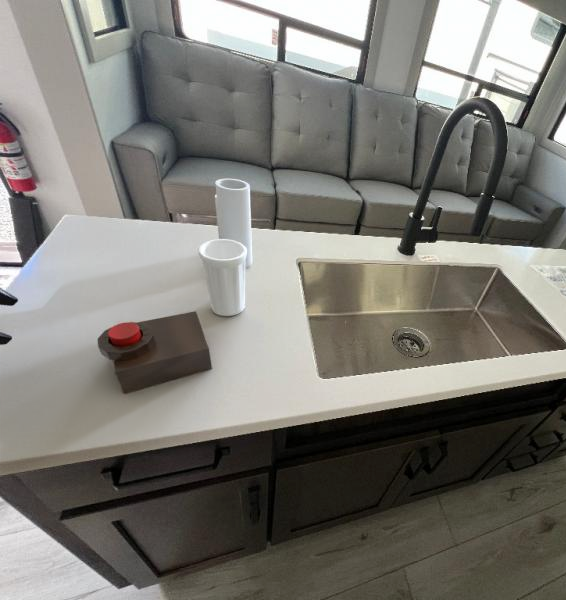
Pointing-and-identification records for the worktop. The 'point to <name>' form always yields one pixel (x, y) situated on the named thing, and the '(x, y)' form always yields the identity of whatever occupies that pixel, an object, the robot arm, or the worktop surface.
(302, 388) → the worktop surface
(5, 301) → the robot arm
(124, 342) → the led button
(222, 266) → the cup
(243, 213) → the vase
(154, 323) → the switch block
